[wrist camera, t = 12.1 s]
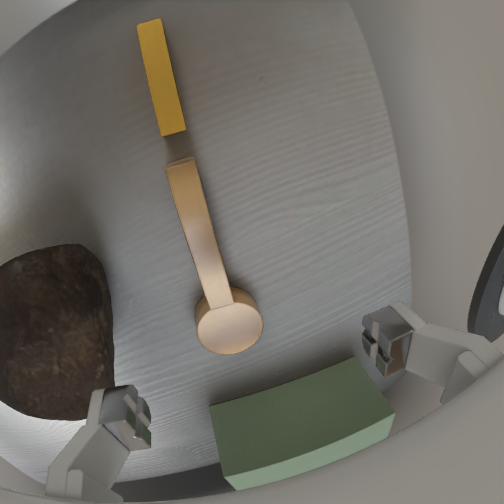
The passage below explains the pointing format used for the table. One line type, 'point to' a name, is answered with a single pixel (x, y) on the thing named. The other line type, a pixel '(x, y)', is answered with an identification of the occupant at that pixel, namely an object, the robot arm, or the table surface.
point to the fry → (160, 77)
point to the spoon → (211, 270)
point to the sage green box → (300, 425)
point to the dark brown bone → (54, 332)
